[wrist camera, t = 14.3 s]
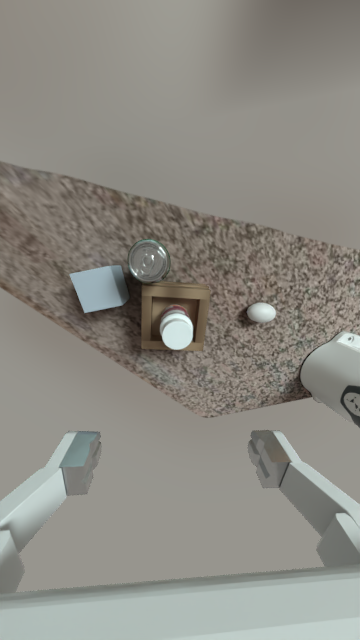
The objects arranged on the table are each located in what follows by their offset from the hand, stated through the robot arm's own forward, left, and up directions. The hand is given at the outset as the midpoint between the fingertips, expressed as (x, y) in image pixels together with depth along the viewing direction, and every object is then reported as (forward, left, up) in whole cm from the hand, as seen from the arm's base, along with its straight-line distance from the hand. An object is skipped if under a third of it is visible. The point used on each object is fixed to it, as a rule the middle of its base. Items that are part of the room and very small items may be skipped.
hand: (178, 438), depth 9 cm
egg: (-18, -1, -26) cm, 31 cm away
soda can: (+3, -9, -26) cm, 28 cm away
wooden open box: (-1, 0, -26) cm, 26 cm away
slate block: (+11, -4, -26) cm, 29 cm away
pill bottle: (-1, 0, -22) cm, 22 cm away
